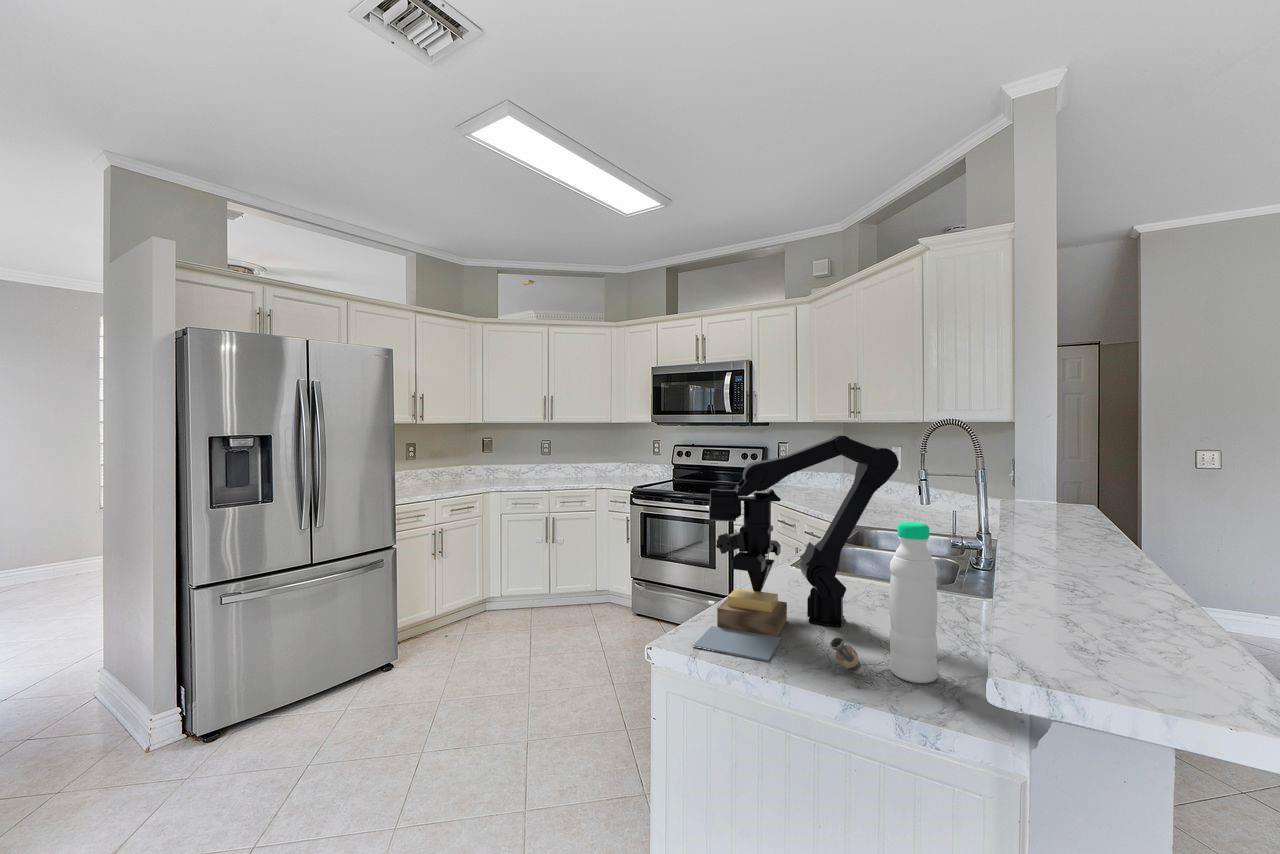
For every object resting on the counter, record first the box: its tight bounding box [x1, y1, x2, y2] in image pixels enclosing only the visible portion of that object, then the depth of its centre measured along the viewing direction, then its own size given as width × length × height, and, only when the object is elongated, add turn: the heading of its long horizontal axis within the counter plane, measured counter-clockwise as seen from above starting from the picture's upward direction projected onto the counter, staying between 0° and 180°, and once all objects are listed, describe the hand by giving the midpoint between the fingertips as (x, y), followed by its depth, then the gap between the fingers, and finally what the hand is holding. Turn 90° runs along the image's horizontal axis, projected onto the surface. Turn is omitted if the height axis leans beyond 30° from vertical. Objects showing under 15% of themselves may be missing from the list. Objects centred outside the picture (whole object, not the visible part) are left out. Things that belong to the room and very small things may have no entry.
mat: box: [692, 625, 782, 663], centre depth 102 cm, size 14×11×1 cm
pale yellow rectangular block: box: [727, 588, 779, 612], centre depth 112 cm, size 9×6×2 cm, turn 64°
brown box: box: [716, 597, 788, 637], centre depth 112 cm, size 12×10×4 cm
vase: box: [827, 637, 871, 679], centre depth 90 cm, size 5×5×6 cm
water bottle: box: [889, 521, 938, 684], centre depth 89 cm, size 7×7×25 cm
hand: (757, 594), depth 116 cm, fingers closed
